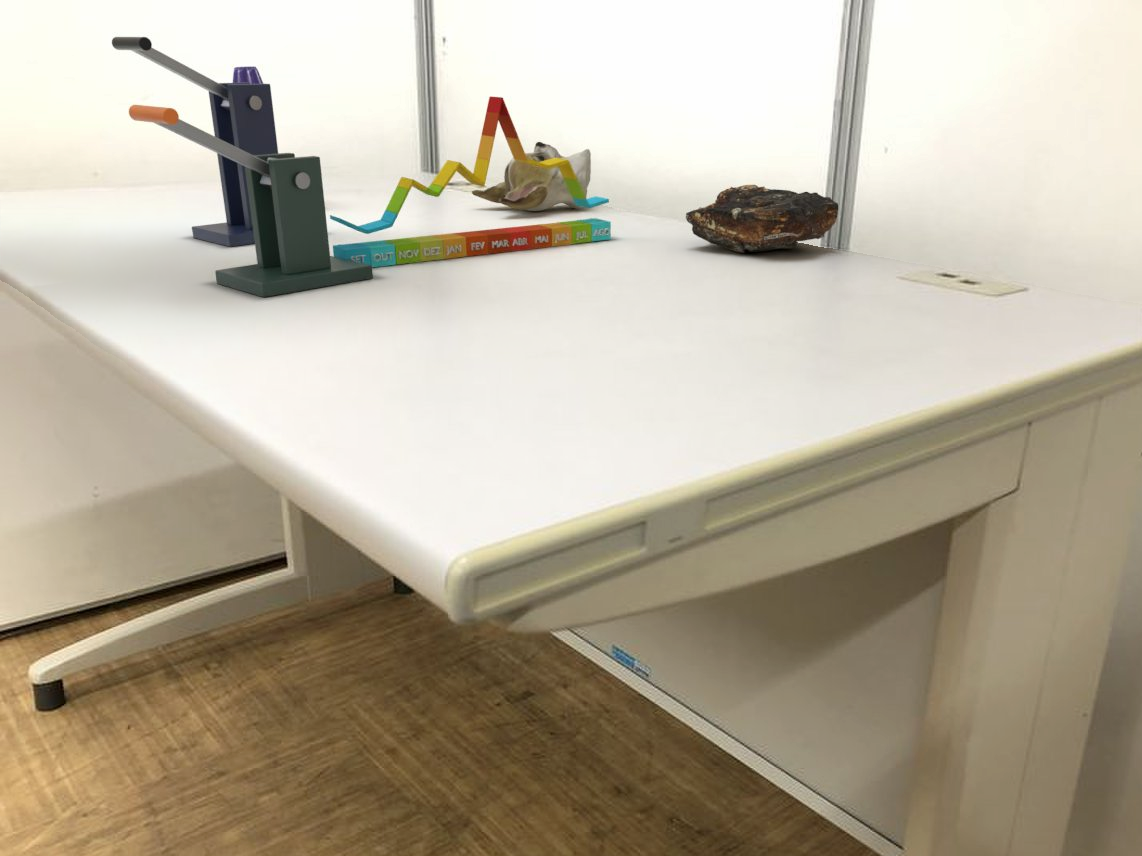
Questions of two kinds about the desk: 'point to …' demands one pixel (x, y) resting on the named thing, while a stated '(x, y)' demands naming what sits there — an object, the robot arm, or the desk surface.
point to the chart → (483, 239)
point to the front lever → (200, 138)
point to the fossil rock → (763, 218)
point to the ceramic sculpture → (538, 181)
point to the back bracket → (250, 133)
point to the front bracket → (290, 233)
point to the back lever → (171, 65)
